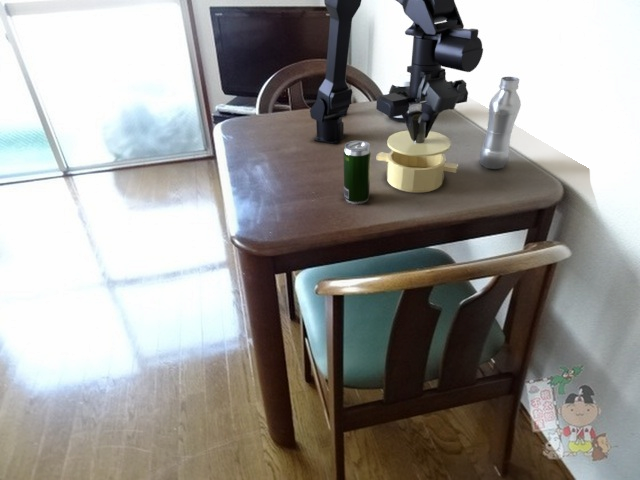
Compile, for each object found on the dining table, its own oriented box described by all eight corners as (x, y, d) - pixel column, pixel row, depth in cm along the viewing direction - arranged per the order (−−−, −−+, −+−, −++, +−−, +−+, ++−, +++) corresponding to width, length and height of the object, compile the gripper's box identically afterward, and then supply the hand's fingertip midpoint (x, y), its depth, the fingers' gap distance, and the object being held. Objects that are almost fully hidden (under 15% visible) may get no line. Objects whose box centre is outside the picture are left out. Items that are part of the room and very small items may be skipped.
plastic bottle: (506, 161, 104) (526, 75, 92) (506, 174, 99) (527, 84, 87) (478, 158, 106) (494, 73, 94) (476, 170, 101) (493, 82, 89)
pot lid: (442, 163, 86) (446, 136, 83) (378, 153, 91) (379, 128, 88) (456, 139, 96) (459, 114, 93) (397, 131, 101) (399, 107, 98)
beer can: (354, 207, 89) (354, 153, 82) (339, 197, 93) (338, 144, 86) (374, 199, 91) (376, 146, 85) (358, 190, 95) (359, 138, 88)
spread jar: (409, 125, 125) (412, 84, 119) (372, 120, 130) (373, 80, 123) (419, 112, 134) (423, 73, 127) (384, 108, 138) (386, 70, 132)
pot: (448, 199, 91) (452, 175, 87) (368, 184, 97) (368, 162, 94) (459, 174, 100) (463, 151, 96) (385, 162, 106) (386, 141, 103)
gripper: (409, 79, 75) (403, 162, 84) (494, 64, 81) (479, 143, 90) (376, 65, 83) (373, 142, 92) (455, 53, 89) (445, 126, 98)
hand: (418, 138), depth 93 cm, fingers closed on pot lid, 2 cm apart
